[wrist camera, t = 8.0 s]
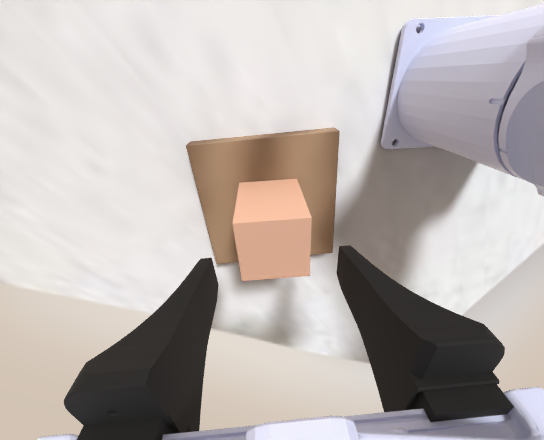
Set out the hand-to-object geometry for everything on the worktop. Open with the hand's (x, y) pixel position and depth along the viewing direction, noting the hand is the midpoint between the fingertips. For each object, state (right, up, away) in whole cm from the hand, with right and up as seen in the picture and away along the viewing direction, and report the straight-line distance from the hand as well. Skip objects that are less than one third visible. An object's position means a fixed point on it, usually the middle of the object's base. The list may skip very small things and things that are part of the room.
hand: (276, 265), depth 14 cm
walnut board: (-1, +5, +8) cm, 9 cm away
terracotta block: (0, +4, +6) cm, 7 cm away
